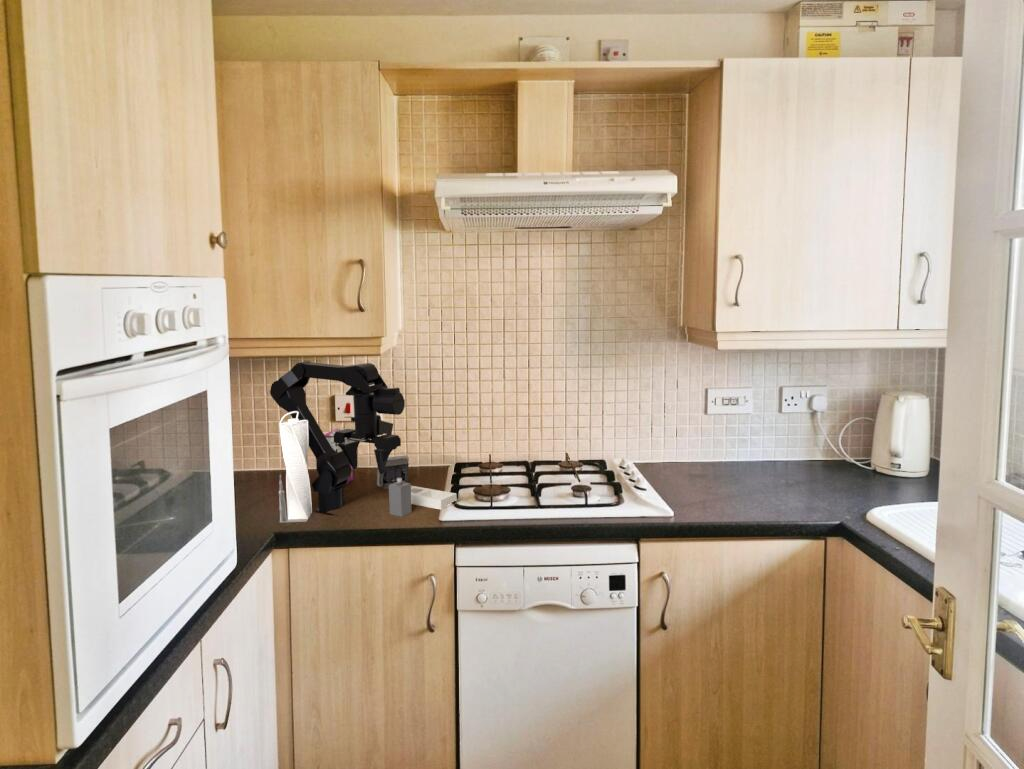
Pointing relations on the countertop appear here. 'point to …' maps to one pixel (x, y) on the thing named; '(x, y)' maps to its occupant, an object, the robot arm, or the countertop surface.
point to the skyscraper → (295, 471)
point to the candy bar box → (334, 446)
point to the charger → (400, 498)
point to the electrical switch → (393, 471)
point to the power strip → (431, 497)
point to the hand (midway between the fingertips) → (368, 471)
